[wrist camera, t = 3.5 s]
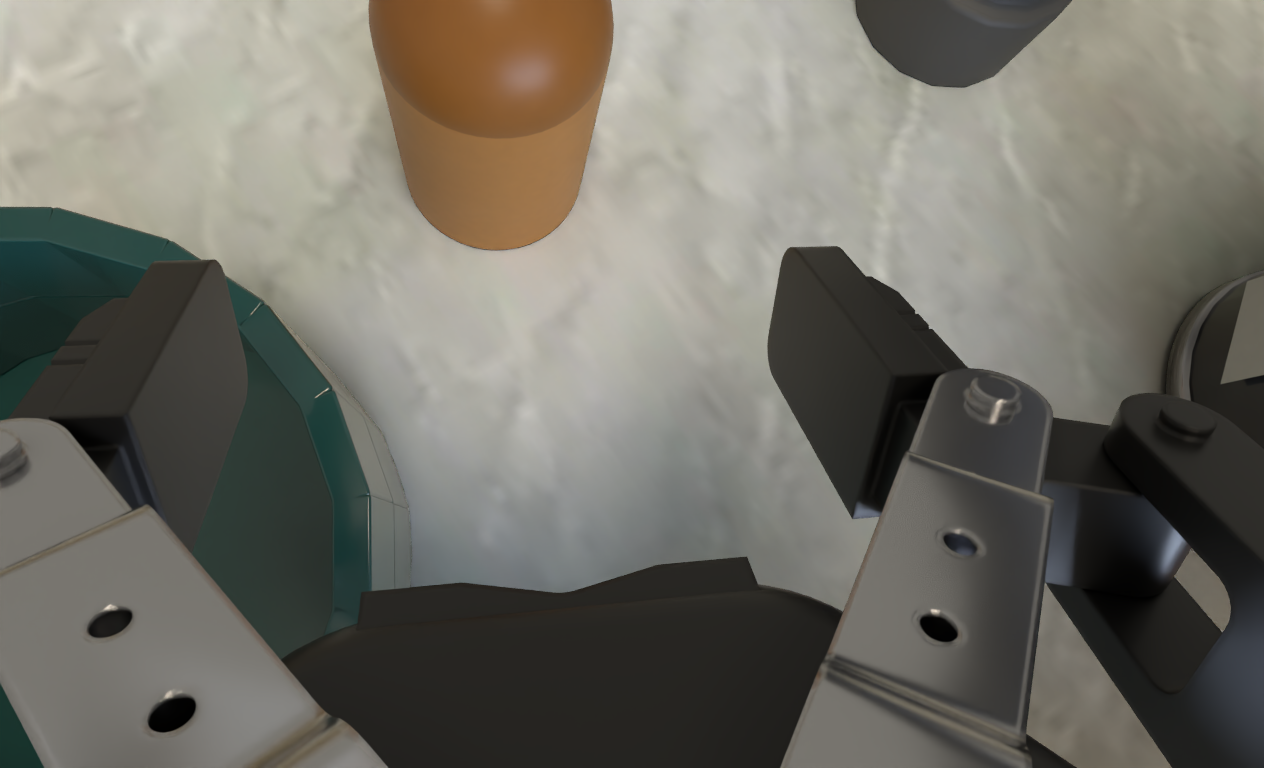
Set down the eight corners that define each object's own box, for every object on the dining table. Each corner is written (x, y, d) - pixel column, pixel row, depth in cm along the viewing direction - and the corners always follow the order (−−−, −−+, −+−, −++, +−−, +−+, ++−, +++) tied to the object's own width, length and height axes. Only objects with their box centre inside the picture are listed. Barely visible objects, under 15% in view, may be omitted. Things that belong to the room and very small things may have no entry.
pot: (214, 221, 23) (86, 74, 16) (513, 597, 22) (521, 625, 15) (-275, 530, 20) (-721, 524, 13) (58, 978, 19) (-207, 1244, 12)
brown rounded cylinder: (509, 57, 25) (517, -221, 16) (615, 186, 25) (685, -20, 16) (368, 148, 24) (288, -98, 15) (478, 284, 24) (467, 122, 15)
